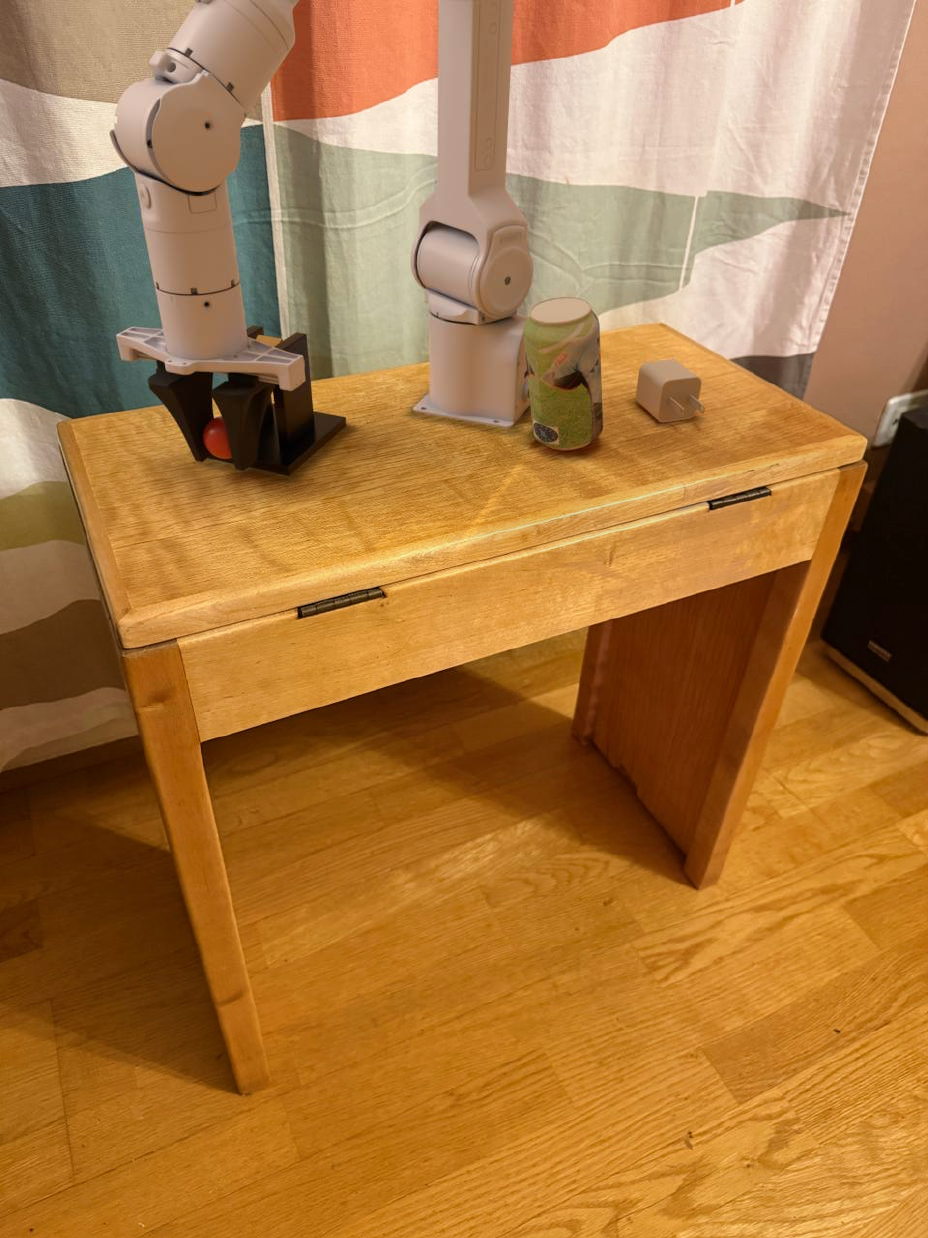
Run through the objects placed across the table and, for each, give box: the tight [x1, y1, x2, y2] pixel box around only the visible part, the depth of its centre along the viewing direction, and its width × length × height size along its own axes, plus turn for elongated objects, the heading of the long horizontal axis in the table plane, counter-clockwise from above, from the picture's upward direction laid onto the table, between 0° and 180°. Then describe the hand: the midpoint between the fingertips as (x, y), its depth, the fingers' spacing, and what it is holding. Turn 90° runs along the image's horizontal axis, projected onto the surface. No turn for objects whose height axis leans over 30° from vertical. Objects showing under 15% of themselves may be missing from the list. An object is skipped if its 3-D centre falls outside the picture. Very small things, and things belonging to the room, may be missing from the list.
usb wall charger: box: [635, 358, 706, 423], centre depth 82 cm, size 4×7×4 cm, turn 18°
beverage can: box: [524, 296, 604, 451], centre depth 76 cm, size 6×7×12 cm
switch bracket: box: [207, 325, 347, 476], centre depth 75 cm, size 10×8×9 cm
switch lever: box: [203, 335, 284, 459], centre depth 72 cm, size 11×3×3 cm, turn 160°
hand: (225, 460), depth 71 cm, fingers closed on switch lever, 3 cm apart
